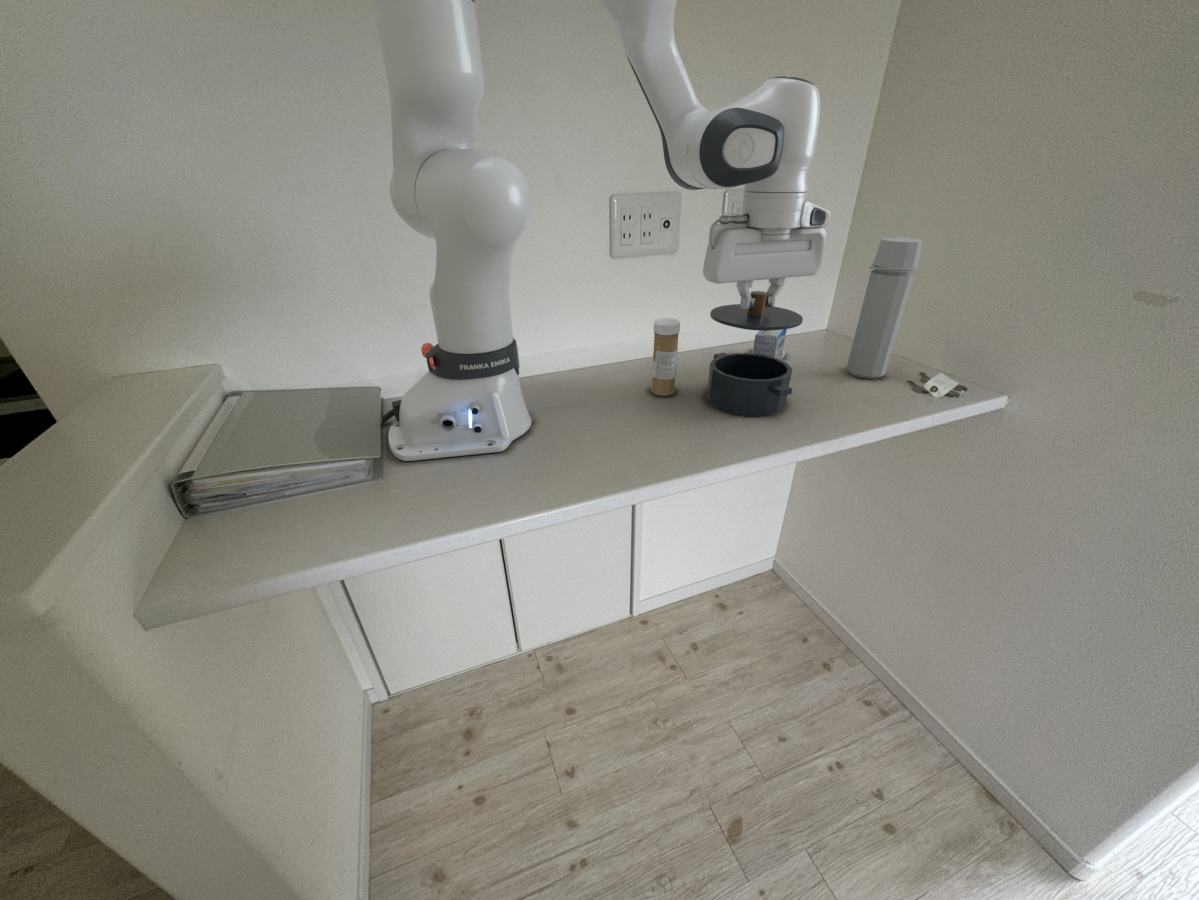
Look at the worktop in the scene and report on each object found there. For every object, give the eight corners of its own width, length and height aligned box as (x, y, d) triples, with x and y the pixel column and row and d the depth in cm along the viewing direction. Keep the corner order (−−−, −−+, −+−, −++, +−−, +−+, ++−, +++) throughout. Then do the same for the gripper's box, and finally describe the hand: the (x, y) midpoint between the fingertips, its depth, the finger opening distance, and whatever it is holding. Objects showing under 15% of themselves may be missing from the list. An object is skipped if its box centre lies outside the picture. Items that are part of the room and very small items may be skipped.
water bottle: (892, 381, 96) (934, 242, 83) (849, 379, 97) (884, 242, 84) (876, 364, 104) (913, 235, 91) (837, 363, 105) (867, 235, 92)
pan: (745, 429, 80) (751, 392, 76) (685, 386, 95) (688, 354, 92) (813, 414, 84) (821, 379, 81) (745, 376, 99) (749, 344, 96)
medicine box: (771, 380, 97) (779, 336, 93) (748, 376, 99) (755, 333, 95) (780, 367, 103) (788, 326, 99) (759, 363, 105) (765, 323, 101)
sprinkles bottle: (654, 385, 95) (658, 316, 89) (678, 389, 94) (683, 318, 87) (647, 394, 92) (650, 322, 85) (671, 398, 90) (676, 325, 83)
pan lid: (744, 338, 73) (749, 307, 71) (693, 314, 85) (695, 287, 83) (821, 328, 78) (828, 298, 76) (763, 307, 90) (767, 281, 88)
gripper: (724, 217, 68) (713, 318, 75) (840, 213, 74) (819, 306, 81) (700, 214, 73) (691, 308, 80) (810, 210, 79) (793, 298, 86)
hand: (757, 307), depth 81 cm, fingers closed on pan lid, 2 cm apart
